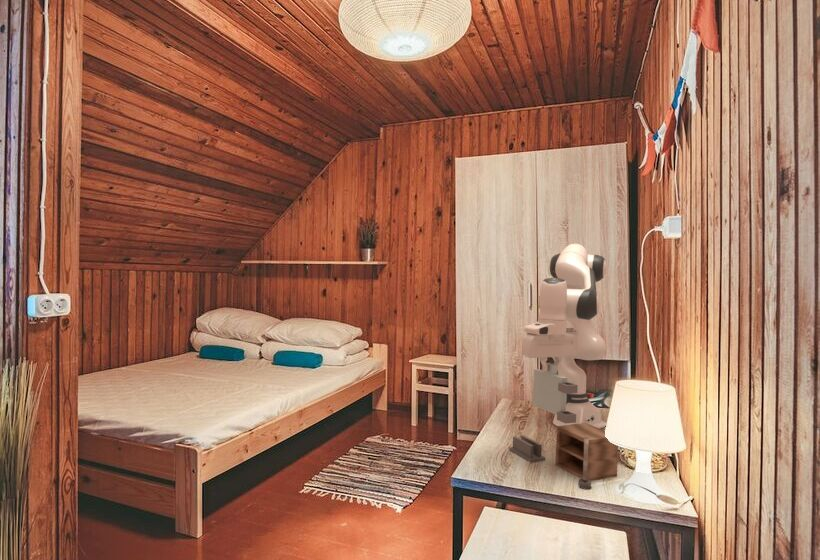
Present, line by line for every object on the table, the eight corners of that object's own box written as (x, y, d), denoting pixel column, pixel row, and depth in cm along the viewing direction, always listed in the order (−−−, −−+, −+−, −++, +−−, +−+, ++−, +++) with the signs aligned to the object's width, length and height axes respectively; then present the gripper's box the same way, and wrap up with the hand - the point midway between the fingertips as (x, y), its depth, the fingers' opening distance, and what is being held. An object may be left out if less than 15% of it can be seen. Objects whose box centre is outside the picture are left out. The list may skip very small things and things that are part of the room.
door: (539, 407, 166) (541, 360, 165) (576, 422, 149) (578, 370, 149) (529, 408, 164) (531, 360, 164) (565, 423, 148) (567, 370, 148)
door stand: (522, 449, 174) (523, 433, 174) (545, 461, 163) (545, 445, 163) (508, 451, 171) (509, 435, 171) (530, 464, 160) (531, 447, 160)
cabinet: (583, 461, 165) (585, 416, 164) (625, 482, 149) (627, 433, 148) (545, 467, 158) (547, 421, 158) (584, 490, 142) (586, 438, 142)
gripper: (570, 326, 165) (568, 367, 165) (520, 327, 157) (518, 370, 157) (584, 329, 159) (582, 371, 159) (532, 329, 151) (530, 374, 151)
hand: (550, 370), depth 158 cm, fingers closed on door, 2 cm apart
